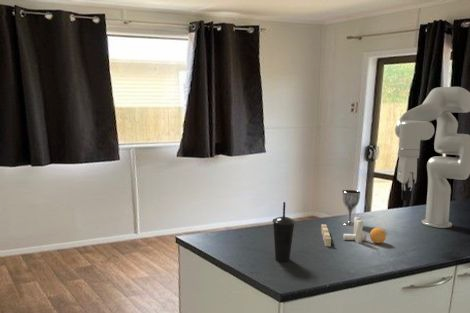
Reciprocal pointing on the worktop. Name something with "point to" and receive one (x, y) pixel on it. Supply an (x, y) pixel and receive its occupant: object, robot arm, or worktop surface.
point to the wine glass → (350, 203)
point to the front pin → (353, 237)
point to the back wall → (326, 235)
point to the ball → (377, 235)
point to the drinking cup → (283, 236)
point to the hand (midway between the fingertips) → (405, 200)
